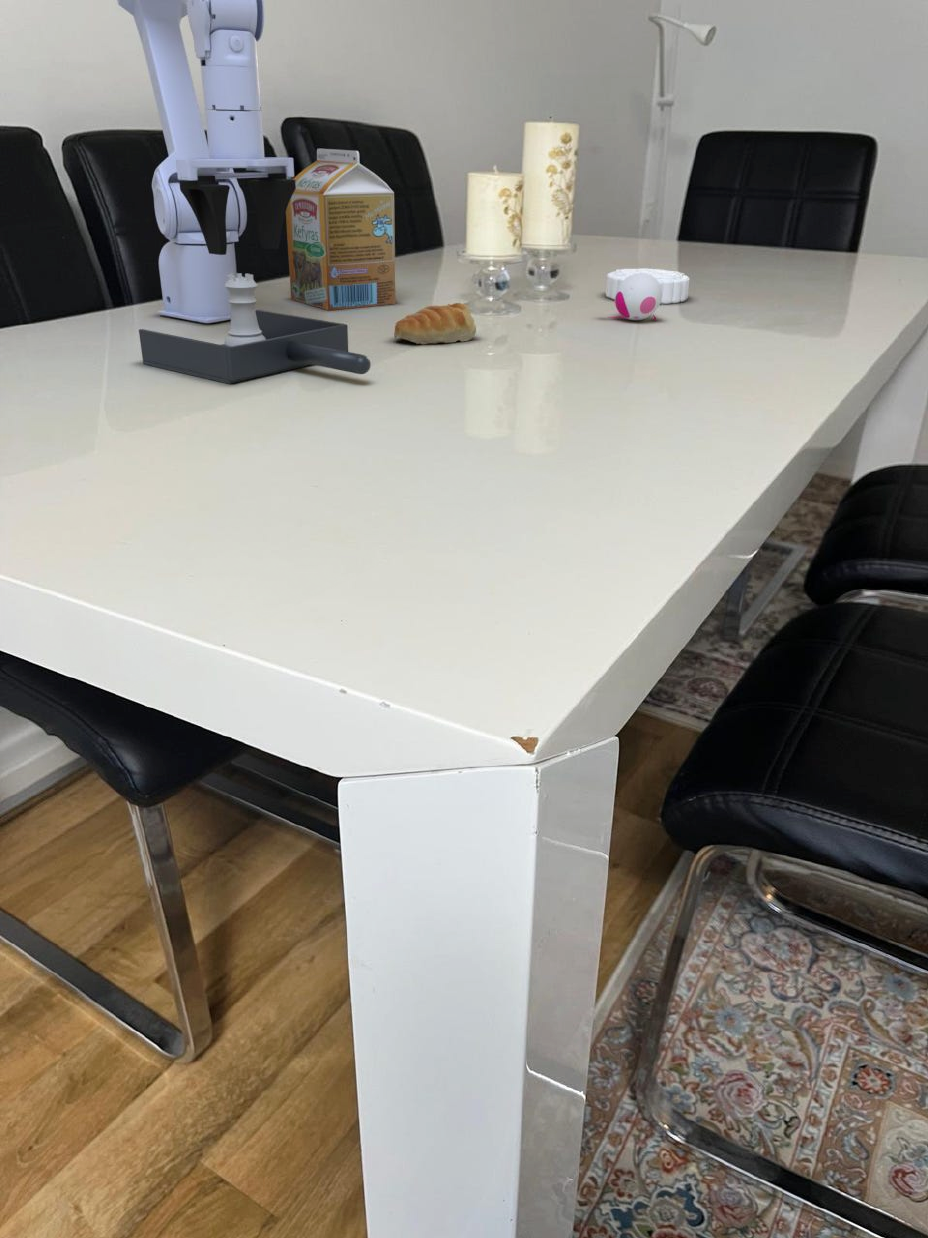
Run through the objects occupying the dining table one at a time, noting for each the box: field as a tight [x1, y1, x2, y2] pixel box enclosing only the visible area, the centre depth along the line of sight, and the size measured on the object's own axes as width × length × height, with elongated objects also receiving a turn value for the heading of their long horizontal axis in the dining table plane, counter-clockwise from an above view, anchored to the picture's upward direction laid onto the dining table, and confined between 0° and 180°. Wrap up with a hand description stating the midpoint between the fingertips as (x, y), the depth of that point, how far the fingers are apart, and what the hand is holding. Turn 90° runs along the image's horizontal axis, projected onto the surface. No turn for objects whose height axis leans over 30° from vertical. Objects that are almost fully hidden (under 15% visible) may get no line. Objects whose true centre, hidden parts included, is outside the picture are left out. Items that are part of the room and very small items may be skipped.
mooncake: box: [605, 267, 691, 305], centre depth 141 cm, size 12×12×4 cm
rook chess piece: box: [224, 272, 266, 347], centre depth 98 cm, size 4×4×8 cm
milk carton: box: [285, 148, 396, 312], centre depth 129 cm, size 11×11×19 cm
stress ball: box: [608, 273, 662, 322], centre depth 124 cm, size 8×8×7 cm
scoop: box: [138, 309, 372, 385], centre depth 96 cm, size 23×16×3 cm
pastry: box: [393, 302, 477, 345], centre depth 110 cm, size 9×7×4 cm
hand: (244, 251), depth 106 cm, fingers open, 7 cm apart
